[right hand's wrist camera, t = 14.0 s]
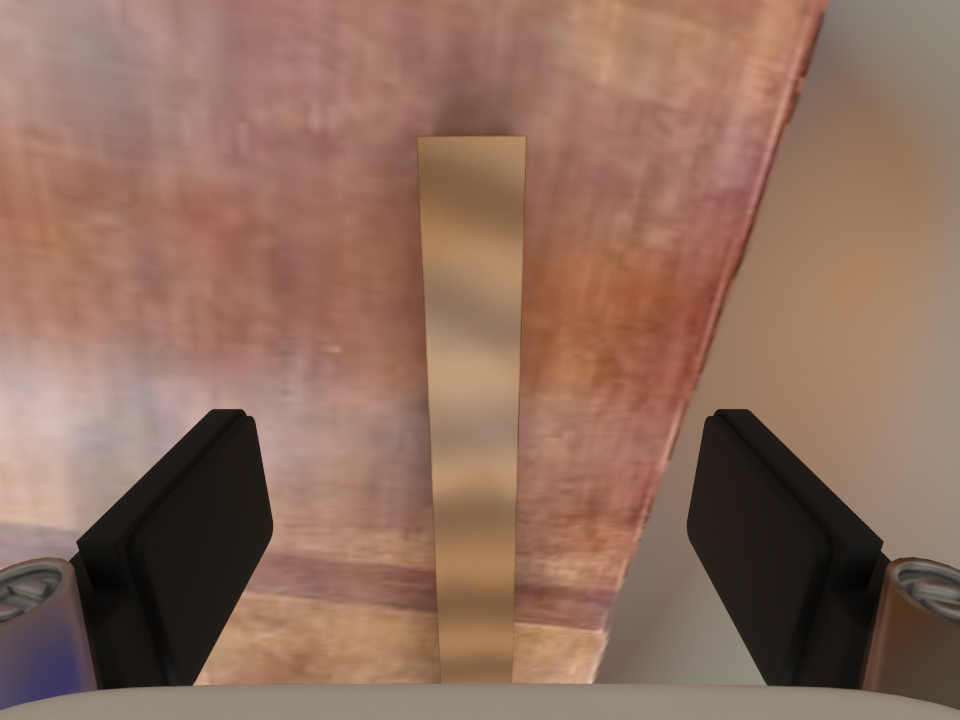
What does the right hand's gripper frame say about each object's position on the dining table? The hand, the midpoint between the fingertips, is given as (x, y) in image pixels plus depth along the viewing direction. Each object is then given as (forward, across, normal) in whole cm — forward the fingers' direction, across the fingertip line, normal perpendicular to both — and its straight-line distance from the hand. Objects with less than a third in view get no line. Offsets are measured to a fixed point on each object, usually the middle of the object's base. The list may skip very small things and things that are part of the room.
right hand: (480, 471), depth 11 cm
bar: (+27, 0, -24) cm, 36 cm away
